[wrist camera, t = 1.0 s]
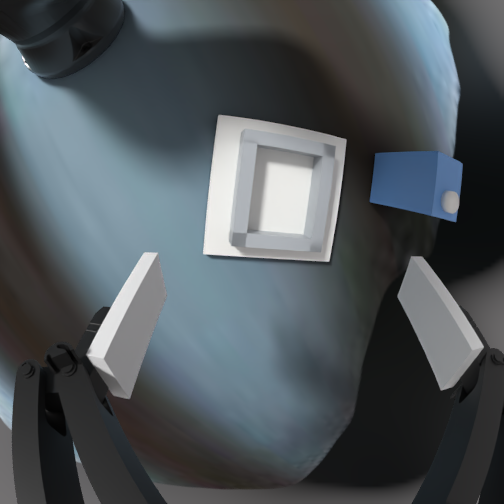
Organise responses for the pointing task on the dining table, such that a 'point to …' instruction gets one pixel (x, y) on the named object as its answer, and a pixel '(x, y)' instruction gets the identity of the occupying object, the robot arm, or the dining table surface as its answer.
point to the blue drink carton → (418, 182)
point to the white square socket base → (273, 191)
